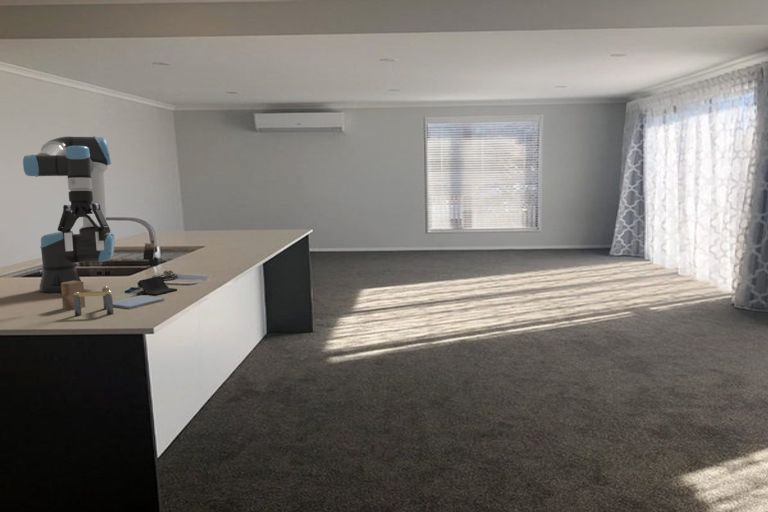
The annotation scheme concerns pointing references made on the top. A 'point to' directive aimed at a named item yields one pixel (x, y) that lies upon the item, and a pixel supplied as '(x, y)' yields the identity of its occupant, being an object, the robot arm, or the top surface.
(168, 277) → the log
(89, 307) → the top surface
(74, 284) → the walnut block
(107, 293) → the grey and gold frame
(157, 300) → the pad
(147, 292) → the handheld gaming console
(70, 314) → the top surface
